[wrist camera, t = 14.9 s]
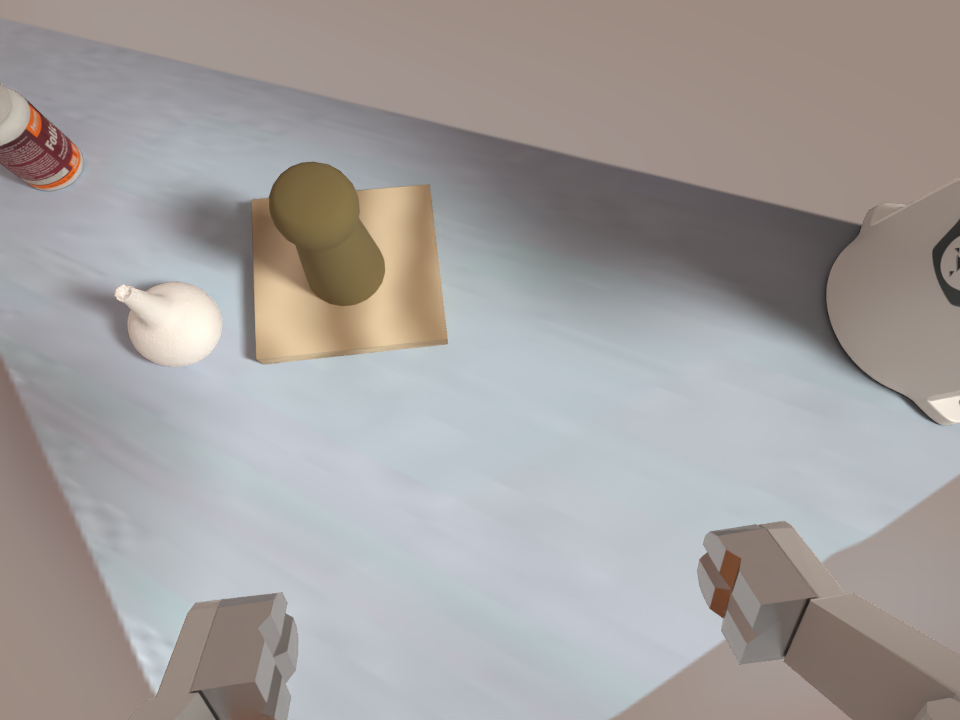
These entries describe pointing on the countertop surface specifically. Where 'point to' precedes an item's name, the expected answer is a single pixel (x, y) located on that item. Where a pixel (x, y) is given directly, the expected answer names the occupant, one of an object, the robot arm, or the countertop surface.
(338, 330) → the birch board
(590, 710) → the countertop surface
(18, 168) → the pill bottle
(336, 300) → the cork
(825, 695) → the robot arm
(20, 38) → the countertop surface
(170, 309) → the garlic bulb
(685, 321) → the countertop surface
